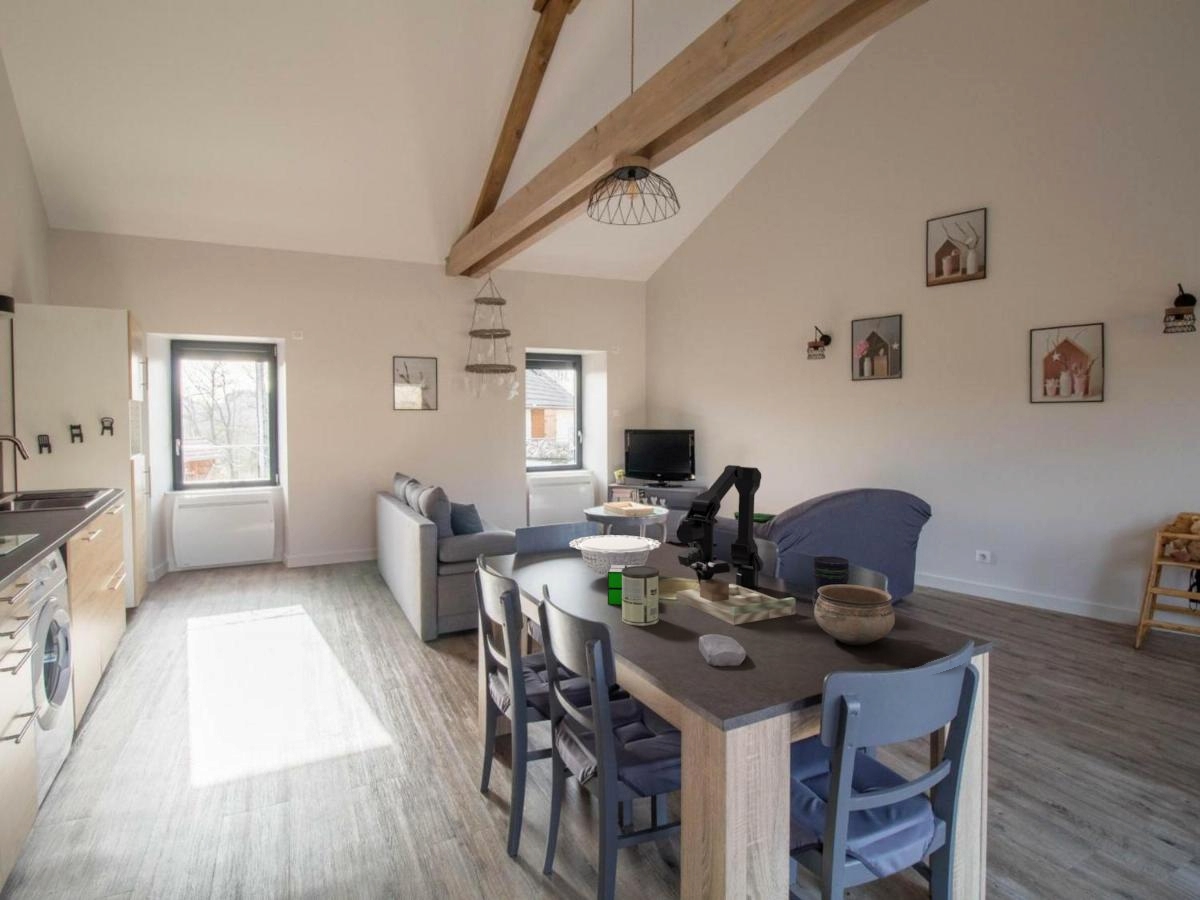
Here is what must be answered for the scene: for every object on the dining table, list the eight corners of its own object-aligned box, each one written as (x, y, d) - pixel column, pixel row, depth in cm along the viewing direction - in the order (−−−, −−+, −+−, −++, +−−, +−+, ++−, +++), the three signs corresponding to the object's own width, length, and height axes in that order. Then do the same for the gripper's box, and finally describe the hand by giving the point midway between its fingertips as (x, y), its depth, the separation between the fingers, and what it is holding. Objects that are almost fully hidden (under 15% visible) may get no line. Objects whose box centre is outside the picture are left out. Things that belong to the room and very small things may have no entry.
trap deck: (733, 591, 217) (733, 577, 216) (795, 614, 192) (795, 598, 191) (675, 599, 206) (676, 585, 206) (733, 624, 182) (733, 608, 181)
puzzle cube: (642, 597, 210) (642, 565, 209) (641, 606, 200) (641, 572, 199) (610, 596, 211) (610, 564, 210) (607, 605, 201) (607, 571, 200)
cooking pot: (855, 662, 154) (856, 610, 153) (789, 639, 170) (790, 592, 169) (916, 642, 168) (918, 594, 167) (851, 623, 184) (852, 578, 183)
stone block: (733, 655, 164) (694, 648, 163) (738, 636, 164) (698, 629, 163) (748, 675, 152) (706, 668, 151) (753, 655, 152) (711, 648, 151)
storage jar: (849, 608, 198) (850, 558, 197) (846, 617, 189) (847, 564, 188) (814, 604, 202) (815, 555, 201) (810, 613, 193) (811, 561, 192)
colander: (677, 576, 237) (677, 540, 236) (632, 596, 210) (632, 556, 209) (600, 565, 254) (600, 531, 253) (550, 582, 227) (550, 545, 227)
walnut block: (716, 594, 203) (716, 578, 203) (728, 599, 198) (728, 582, 197) (700, 596, 200) (700, 580, 200) (712, 601, 195) (712, 584, 195)
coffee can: (627, 613, 192) (627, 564, 191) (662, 616, 189) (663, 567, 188) (616, 623, 182) (616, 572, 182) (653, 627, 179) (653, 575, 178)
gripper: (665, 536, 208) (664, 586, 208) (700, 547, 191) (699, 601, 192) (695, 533, 213) (694, 582, 213) (731, 543, 196) (730, 596, 197)
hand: (703, 590), depth 204 cm, fingers closed
